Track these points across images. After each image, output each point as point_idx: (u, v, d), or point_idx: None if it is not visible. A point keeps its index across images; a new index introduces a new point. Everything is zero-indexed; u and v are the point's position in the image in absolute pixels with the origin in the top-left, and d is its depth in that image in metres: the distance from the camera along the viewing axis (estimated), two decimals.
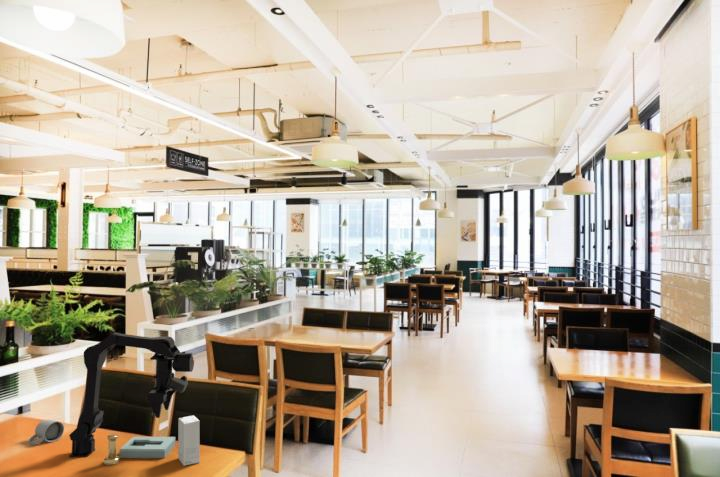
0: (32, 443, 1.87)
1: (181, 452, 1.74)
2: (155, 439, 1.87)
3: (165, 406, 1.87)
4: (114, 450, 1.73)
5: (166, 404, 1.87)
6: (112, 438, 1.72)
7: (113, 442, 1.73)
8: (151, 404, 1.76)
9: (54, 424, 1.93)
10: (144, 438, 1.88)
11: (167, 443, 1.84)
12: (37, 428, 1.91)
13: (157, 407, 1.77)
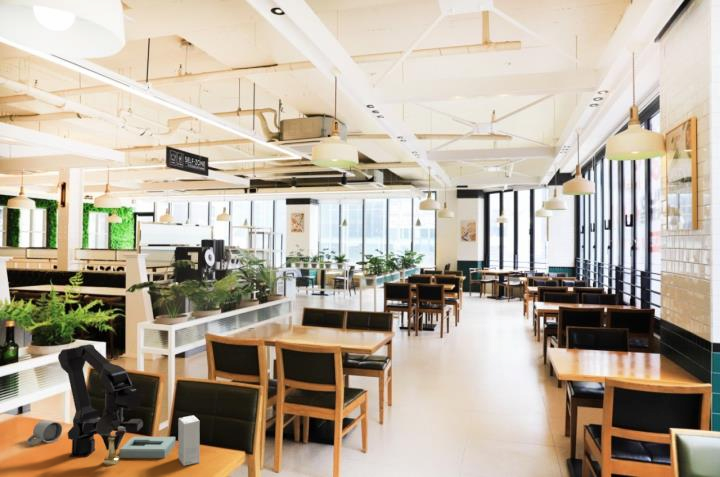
0: (30, 444, 1.86)
1: (181, 452, 1.74)
2: (155, 439, 1.87)
3: None
4: (114, 450, 1.73)
5: None
6: (112, 438, 1.72)
7: (113, 442, 1.73)
8: None
9: (52, 425, 1.92)
10: (144, 438, 1.88)
11: (167, 443, 1.84)
12: (35, 429, 1.90)
13: None
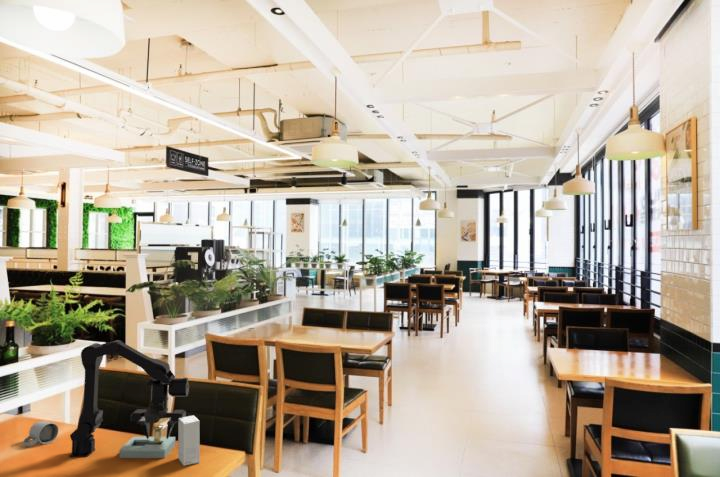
0: (26, 445, 1.85)
1: (181, 452, 1.74)
2: None
3: None
4: (159, 440, 1.84)
5: None
6: (158, 428, 1.83)
7: (159, 432, 1.83)
8: None
9: (48, 426, 1.91)
10: (144, 438, 1.88)
11: (167, 443, 1.84)
12: (31, 430, 1.89)
13: None
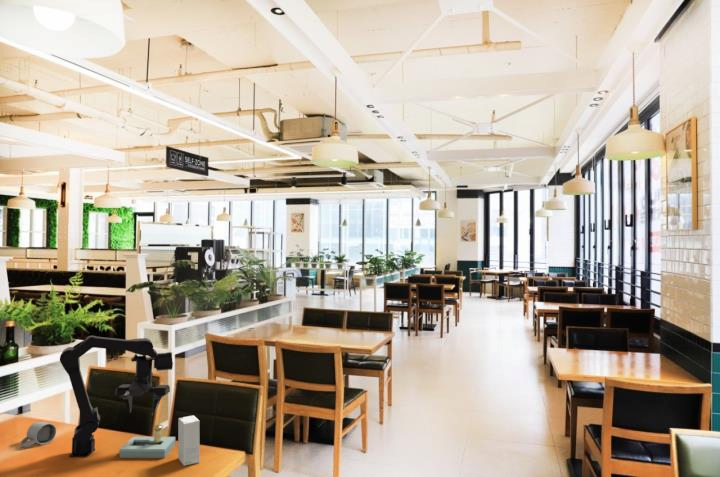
0: (23, 446, 1.84)
1: (181, 452, 1.74)
2: None
3: None
4: (159, 439, 1.84)
5: None
6: (158, 428, 1.83)
7: (159, 432, 1.83)
8: None
9: (46, 426, 1.90)
10: (144, 438, 1.88)
11: (167, 443, 1.84)
12: (29, 430, 1.88)
13: None
